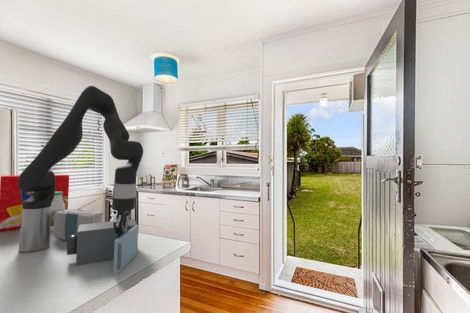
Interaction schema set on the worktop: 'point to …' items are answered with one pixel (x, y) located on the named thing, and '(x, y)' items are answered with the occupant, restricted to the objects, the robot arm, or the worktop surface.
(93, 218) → the stereo radio cassette player
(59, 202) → the milk bottle
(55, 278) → the worktop surface
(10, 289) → the worktop surface
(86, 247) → the camera housing
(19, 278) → the worktop surface
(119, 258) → the side door
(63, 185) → the red cardboard box
